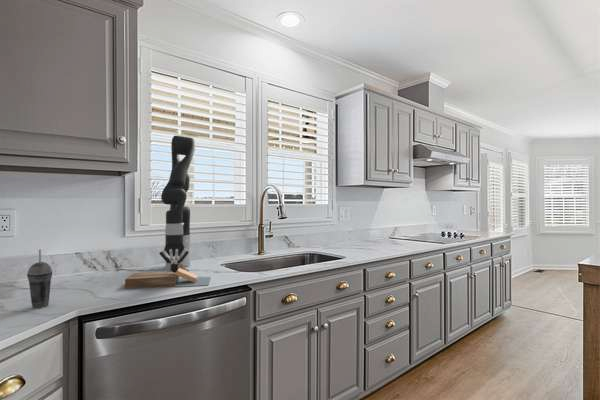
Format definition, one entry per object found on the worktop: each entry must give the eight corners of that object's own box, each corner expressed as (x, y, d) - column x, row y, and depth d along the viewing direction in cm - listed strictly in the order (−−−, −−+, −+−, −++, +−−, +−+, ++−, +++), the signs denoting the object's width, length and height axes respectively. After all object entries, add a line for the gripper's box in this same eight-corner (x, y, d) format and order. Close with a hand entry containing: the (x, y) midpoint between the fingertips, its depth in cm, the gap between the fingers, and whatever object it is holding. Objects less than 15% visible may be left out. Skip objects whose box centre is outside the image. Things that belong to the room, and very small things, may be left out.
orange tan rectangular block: (177, 271, 159) (179, 267, 159) (195, 279, 161) (197, 275, 161) (175, 274, 153) (177, 270, 153) (194, 282, 155) (196, 278, 155)
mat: (180, 278, 164) (180, 278, 164) (210, 277, 167) (210, 276, 167) (174, 287, 148) (174, 286, 148) (208, 285, 151) (208, 284, 151)
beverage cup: (26, 311, 118) (26, 252, 117) (27, 306, 123) (27, 249, 123) (53, 307, 122) (52, 250, 122) (52, 302, 128) (52, 247, 128)
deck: (133, 281, 158) (133, 273, 158) (179, 279, 162) (179, 271, 162) (125, 288, 146) (125, 279, 146) (175, 286, 150) (175, 276, 150)
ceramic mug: (169, 276, 169) (169, 260, 169) (165, 273, 175) (165, 258, 175) (191, 274, 175) (191, 258, 175) (186, 271, 181) (186, 256, 181)
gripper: (190, 232, 161) (191, 269, 161) (160, 233, 158) (160, 271, 158) (188, 233, 153) (189, 273, 153) (156, 234, 151) (157, 274, 151)
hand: (174, 272), depth 156 cm, fingers closed
